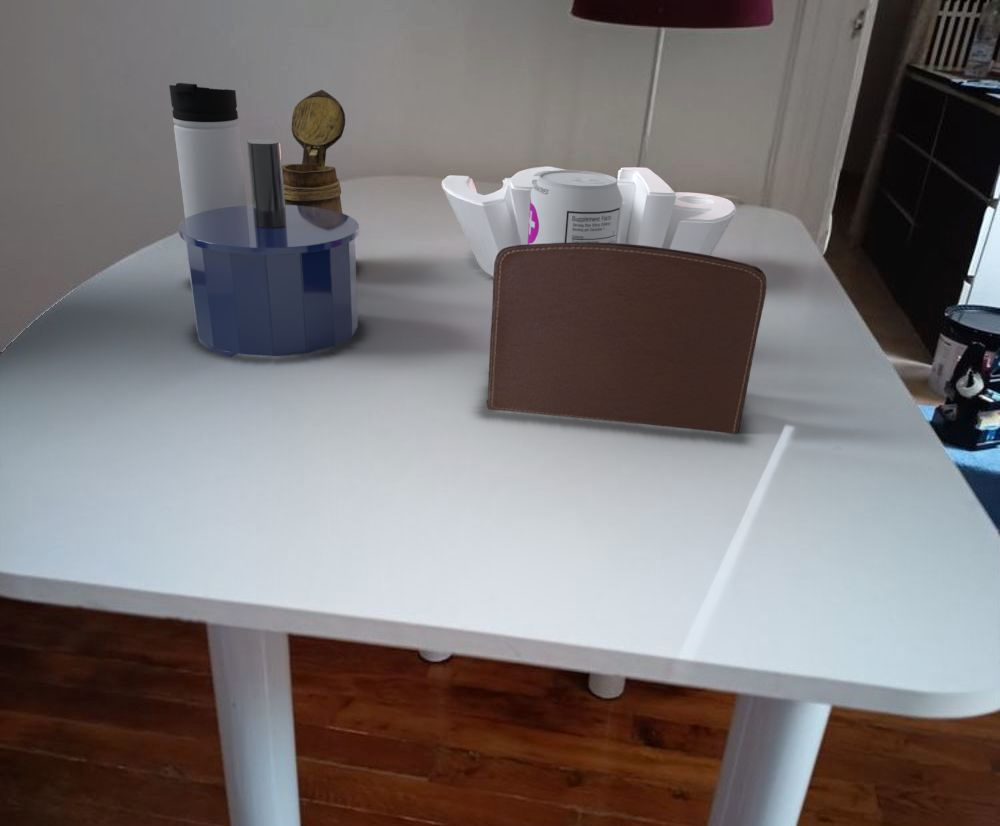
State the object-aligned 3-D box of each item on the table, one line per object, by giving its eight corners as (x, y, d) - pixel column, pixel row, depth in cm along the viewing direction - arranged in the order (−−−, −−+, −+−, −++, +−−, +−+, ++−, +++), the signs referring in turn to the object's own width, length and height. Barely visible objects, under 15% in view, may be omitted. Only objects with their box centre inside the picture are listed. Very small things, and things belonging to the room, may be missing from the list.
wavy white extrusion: (431, 279, 103) (432, 182, 98) (444, 242, 117) (445, 155, 112) (741, 297, 103) (759, 201, 97) (716, 257, 117) (731, 171, 112)
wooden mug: (366, 250, 112) (362, 91, 103) (345, 283, 101) (338, 106, 92) (294, 246, 112) (283, 87, 103) (265, 278, 101) (250, 101, 92)
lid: (140, 243, 78) (125, 142, 74) (255, 209, 91) (248, 121, 87) (290, 273, 73) (283, 166, 69) (391, 232, 85) (390, 139, 81)
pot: (163, 341, 83) (148, 236, 78) (264, 298, 95) (255, 205, 90) (296, 373, 78) (288, 263, 73) (385, 324, 90) (383, 226, 85)
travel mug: (180, 289, 96) (152, 81, 86) (212, 272, 102) (189, 75, 92) (235, 296, 95) (213, 86, 85) (263, 278, 101) (246, 80, 91)
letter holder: (738, 440, 71) (774, 259, 64) (485, 415, 73) (492, 236, 65) (728, 390, 79) (759, 225, 72) (502, 368, 81) (510, 206, 74)
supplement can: (512, 346, 86) (521, 181, 79) (535, 319, 93) (545, 165, 85) (596, 359, 84) (614, 191, 77) (613, 331, 91) (631, 174, 83)
